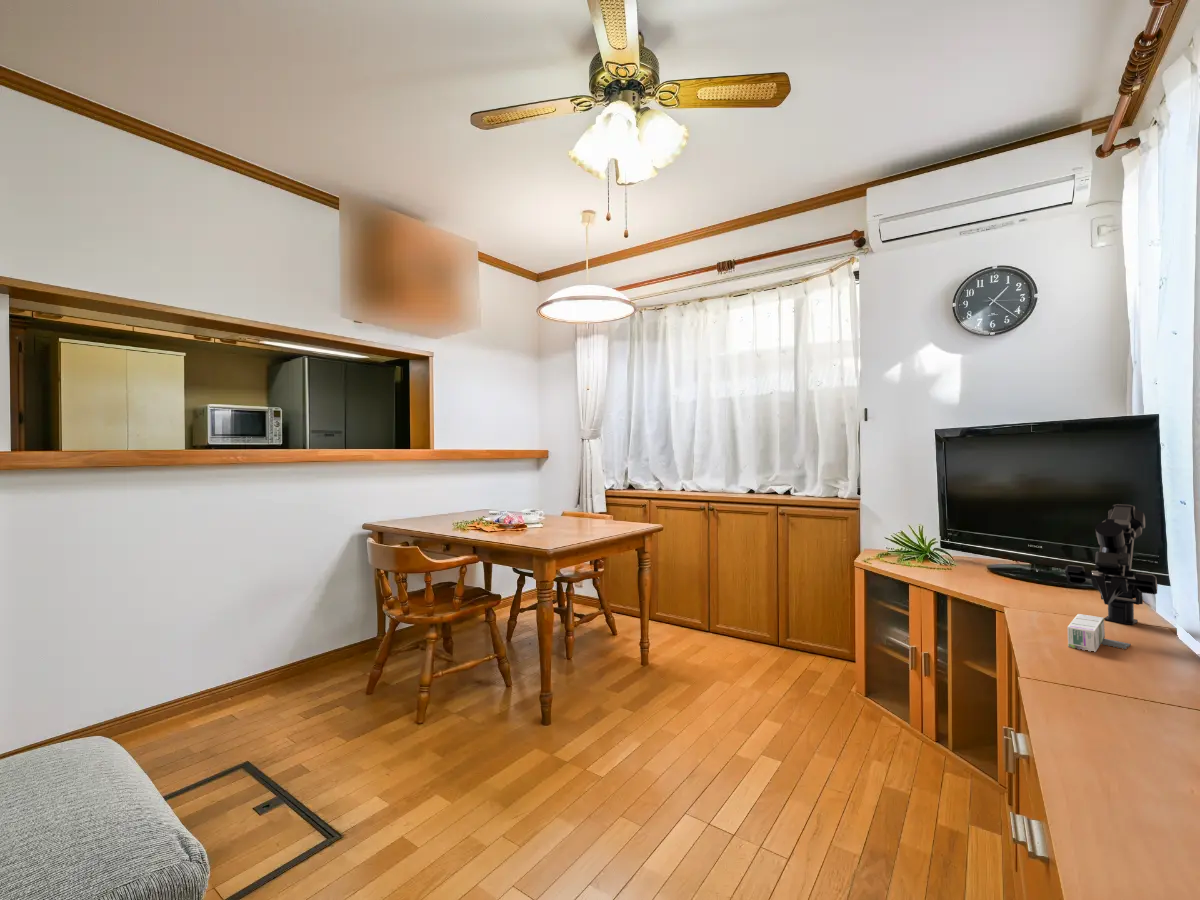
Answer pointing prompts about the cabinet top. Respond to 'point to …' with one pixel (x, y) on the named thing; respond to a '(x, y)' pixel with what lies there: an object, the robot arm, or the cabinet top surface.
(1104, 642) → the slate mat
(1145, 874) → the cabinet top surface
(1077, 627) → the syrup box
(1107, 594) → the robot arm
